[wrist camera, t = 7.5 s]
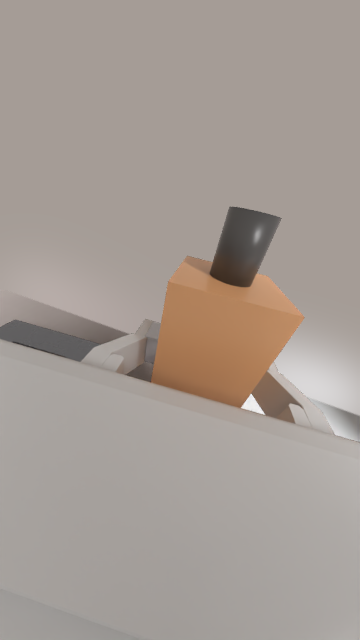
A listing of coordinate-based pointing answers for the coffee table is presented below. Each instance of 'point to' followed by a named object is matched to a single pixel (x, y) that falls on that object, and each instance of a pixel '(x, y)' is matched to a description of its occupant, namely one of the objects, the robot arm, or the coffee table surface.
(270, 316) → the orange bottle
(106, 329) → the coffee table surface
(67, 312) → the coffee table surface
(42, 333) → the socket
